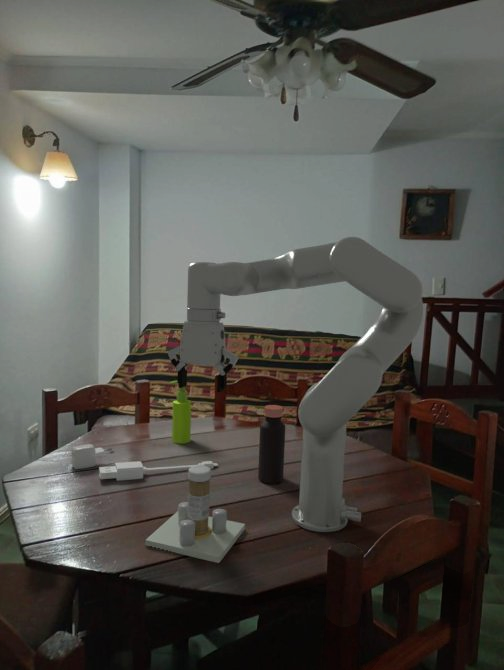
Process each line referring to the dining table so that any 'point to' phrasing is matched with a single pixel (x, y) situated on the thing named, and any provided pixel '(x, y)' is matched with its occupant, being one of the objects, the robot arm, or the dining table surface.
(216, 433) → the dining table surface
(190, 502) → the sprinkles bottle
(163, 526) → the pin board
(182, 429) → the soap dispenser
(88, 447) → the power adapter
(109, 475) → the charging cable
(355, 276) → the robot arm
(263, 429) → the vinegar
